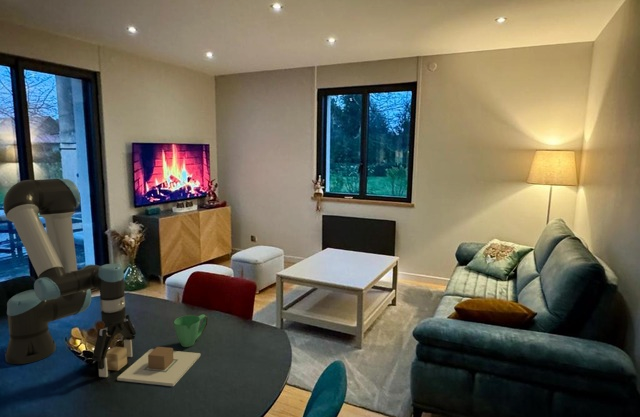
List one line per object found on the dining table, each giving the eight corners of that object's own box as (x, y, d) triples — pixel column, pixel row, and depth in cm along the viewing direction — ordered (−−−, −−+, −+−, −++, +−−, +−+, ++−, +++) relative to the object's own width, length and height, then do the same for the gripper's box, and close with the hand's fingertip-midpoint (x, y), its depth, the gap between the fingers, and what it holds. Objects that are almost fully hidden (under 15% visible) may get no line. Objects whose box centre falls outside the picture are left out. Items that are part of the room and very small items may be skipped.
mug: (186, 352, 151) (185, 327, 149) (169, 345, 156) (168, 321, 154) (214, 337, 163) (214, 314, 162) (198, 332, 168) (197, 309, 167)
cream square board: (117, 380, 132) (116, 363, 131) (151, 351, 151) (150, 336, 151) (173, 386, 129) (172, 369, 128) (200, 355, 149) (200, 340, 148)
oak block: (105, 369, 138) (104, 353, 138) (114, 362, 143) (113, 346, 142) (118, 370, 138) (117, 354, 137) (127, 363, 143) (126, 347, 142)
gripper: (98, 324, 125) (102, 387, 127) (144, 296, 149) (146, 349, 152) (76, 322, 126) (81, 384, 129) (125, 295, 150) (128, 348, 153)
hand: (116, 366), depth 140 cm, fingers open, 13 cm apart
